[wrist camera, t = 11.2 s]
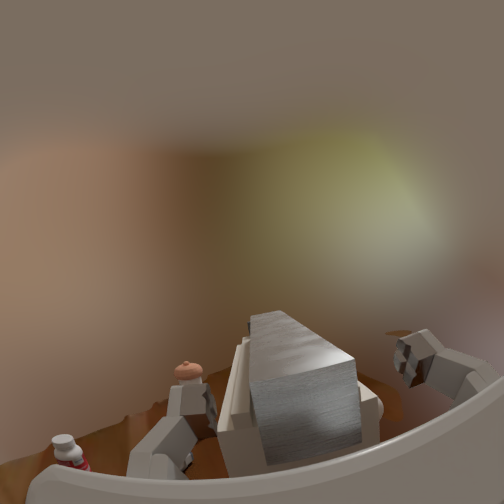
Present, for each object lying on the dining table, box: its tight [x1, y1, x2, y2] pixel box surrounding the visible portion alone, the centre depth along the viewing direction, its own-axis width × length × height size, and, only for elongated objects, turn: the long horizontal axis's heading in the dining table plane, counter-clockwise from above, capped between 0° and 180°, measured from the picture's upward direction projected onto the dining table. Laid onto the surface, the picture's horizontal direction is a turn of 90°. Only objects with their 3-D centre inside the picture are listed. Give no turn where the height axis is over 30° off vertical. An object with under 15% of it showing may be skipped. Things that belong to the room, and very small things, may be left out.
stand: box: [217, 321, 380, 478], centre depth 25 cm, size 27×9×29 cm, turn 0°
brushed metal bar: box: [249, 311, 362, 466], centre depth 23 cm, size 28×4×4 cm, turn 0°
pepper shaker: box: [174, 361, 203, 386], centre depth 62 cm, size 7×7×19 cm
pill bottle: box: [52, 434, 92, 472], centre depth 33 cm, size 6×6×11 cm
